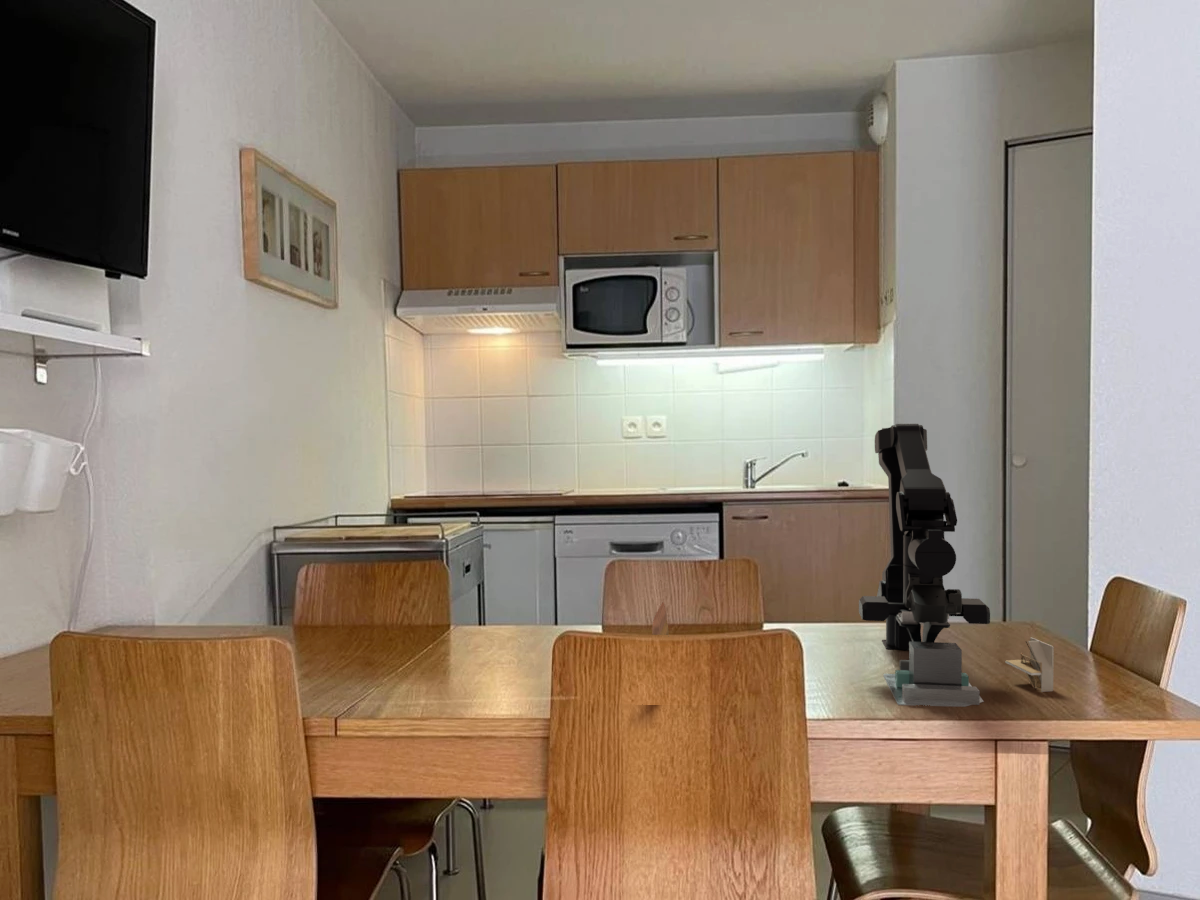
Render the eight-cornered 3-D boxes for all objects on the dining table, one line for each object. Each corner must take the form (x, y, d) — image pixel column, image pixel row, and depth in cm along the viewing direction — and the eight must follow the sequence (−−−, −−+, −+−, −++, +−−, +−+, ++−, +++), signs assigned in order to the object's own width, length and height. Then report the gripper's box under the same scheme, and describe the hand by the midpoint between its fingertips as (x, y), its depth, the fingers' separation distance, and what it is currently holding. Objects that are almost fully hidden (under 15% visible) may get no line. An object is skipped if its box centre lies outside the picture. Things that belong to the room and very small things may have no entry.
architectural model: (1031, 698, 130) (1032, 647, 129) (1005, 684, 137) (1005, 636, 136) (1054, 697, 130) (1054, 646, 130) (1026, 683, 137) (1026, 635, 137)
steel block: (909, 688, 132) (909, 641, 132) (955, 690, 131) (955, 642, 131) (913, 696, 128) (913, 648, 128) (961, 698, 127) (961, 649, 127)
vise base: (883, 676, 140) (883, 660, 140) (964, 679, 138) (964, 663, 138) (898, 707, 125) (898, 689, 125) (988, 711, 123) (989, 693, 123)
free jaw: (889, 672, 140) (889, 658, 140) (956, 674, 139) (956, 660, 139) (897, 687, 133) (897, 672, 133) (968, 690, 131) (968, 675, 131)
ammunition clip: (662, 697, 131) (661, 615, 131) (650, 696, 132) (649, 615, 131) (670, 676, 142) (669, 601, 141) (658, 675, 142) (657, 600, 142)
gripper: (866, 573, 133) (866, 677, 134) (1000, 576, 130) (999, 682, 130) (858, 560, 144) (858, 656, 145) (981, 562, 141) (980, 660, 141)
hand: (922, 664), depth 140 cm, fingers closed, pressing on free jaw
